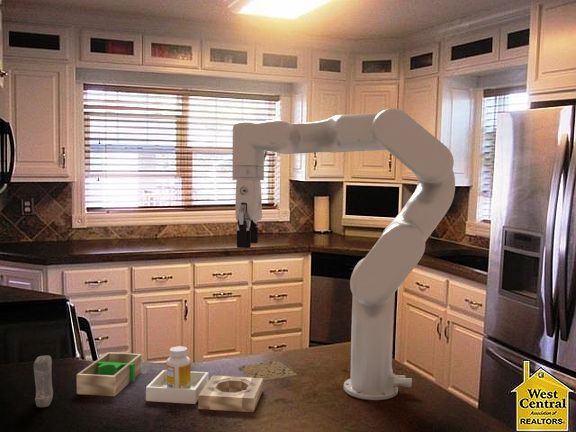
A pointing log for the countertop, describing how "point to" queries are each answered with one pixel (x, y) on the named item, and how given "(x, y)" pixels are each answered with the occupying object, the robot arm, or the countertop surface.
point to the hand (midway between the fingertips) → (247, 245)
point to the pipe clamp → (114, 369)
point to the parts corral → (107, 383)
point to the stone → (43, 381)
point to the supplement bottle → (178, 368)
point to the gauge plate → (231, 393)
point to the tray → (176, 389)
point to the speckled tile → (268, 371)
